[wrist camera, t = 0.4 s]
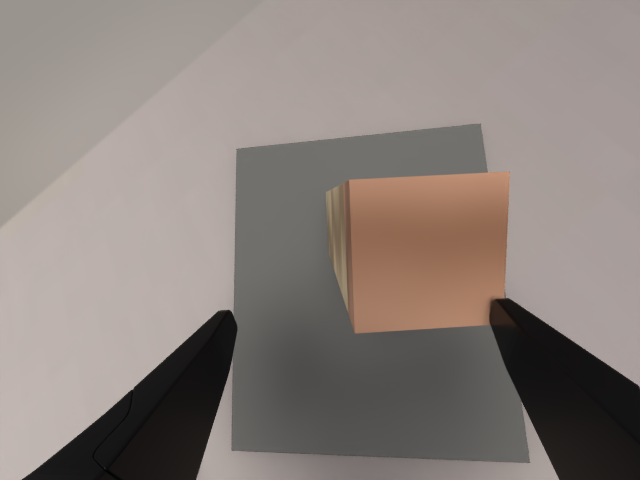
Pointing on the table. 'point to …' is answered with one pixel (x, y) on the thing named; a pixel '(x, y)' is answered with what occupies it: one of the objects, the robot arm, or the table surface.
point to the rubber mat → (335, 326)
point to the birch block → (419, 249)
